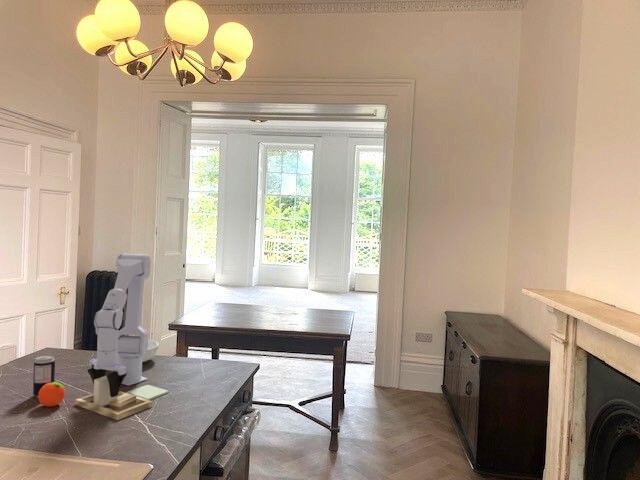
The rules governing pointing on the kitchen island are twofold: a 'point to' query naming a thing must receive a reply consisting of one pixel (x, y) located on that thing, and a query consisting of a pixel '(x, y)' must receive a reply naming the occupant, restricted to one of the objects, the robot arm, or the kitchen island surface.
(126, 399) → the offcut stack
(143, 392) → the sage mat
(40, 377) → the beverage can
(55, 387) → the clementine
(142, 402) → the wooden rectangular frame
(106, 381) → the cream rectangular block
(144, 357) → the serving bowl
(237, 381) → the kitchen island surface
